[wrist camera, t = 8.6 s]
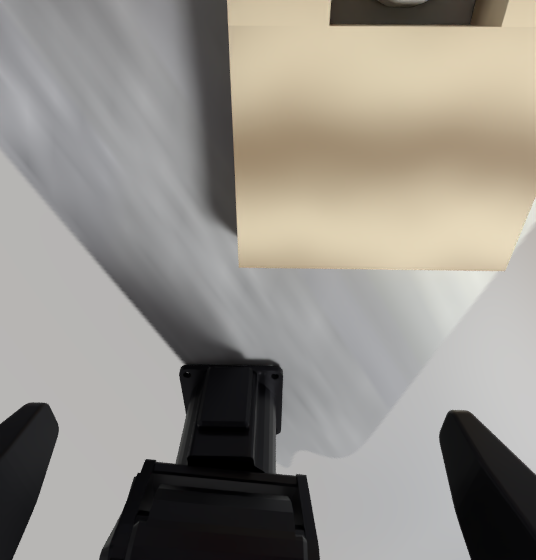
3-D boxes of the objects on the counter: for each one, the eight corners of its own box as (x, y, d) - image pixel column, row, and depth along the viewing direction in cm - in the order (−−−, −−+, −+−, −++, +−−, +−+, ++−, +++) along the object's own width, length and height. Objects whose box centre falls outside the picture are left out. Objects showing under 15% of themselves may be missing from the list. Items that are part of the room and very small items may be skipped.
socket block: (481, 243, 20) (505, 271, 18) (242, 241, 20) (238, 267, 18) (706, -397, 10) (821, -508, 8) (219, -394, 10) (204, -500, 8)
